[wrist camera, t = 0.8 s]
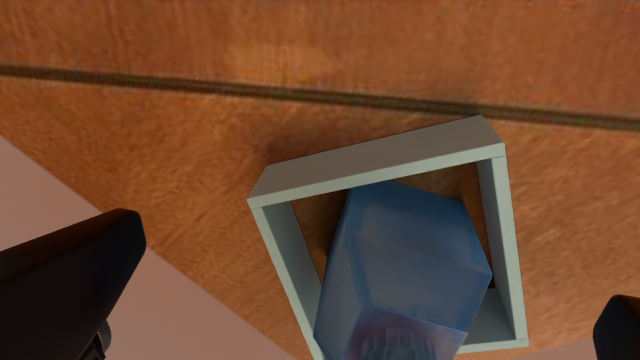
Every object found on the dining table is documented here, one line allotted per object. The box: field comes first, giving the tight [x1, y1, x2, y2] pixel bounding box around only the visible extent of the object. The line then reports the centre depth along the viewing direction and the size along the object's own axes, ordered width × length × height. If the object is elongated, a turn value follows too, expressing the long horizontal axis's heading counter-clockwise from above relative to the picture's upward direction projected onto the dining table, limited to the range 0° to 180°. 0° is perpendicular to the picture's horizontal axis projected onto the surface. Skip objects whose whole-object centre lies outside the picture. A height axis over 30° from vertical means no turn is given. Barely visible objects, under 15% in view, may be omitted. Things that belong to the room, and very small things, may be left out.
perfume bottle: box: [313, 180, 493, 360], centre depth 18 cm, size 6×6×12 cm
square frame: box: [246, 114, 529, 360], centre depth 21 cm, size 12×12×4 cm
